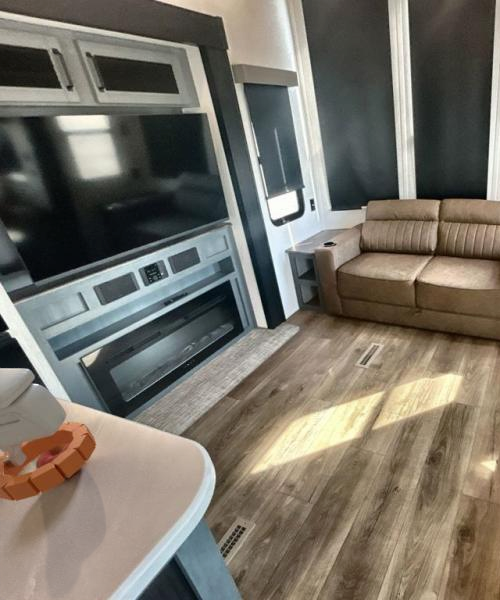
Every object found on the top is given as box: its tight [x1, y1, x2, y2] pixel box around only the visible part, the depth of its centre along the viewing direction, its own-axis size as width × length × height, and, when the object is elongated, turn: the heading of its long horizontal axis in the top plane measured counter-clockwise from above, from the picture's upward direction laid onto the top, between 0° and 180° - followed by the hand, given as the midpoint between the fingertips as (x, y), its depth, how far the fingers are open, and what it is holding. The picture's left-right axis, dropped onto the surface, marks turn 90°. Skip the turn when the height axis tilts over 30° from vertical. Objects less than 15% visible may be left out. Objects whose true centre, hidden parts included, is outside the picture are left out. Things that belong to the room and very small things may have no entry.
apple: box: [35, 443, 81, 474], centre depth 75 cm, size 7×7×8 cm
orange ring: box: [0, 421, 97, 502], centre depth 56 cm, size 12×12×3 cm
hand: (6, 466), depth 55 cm, fingers closed on orange ring, 2 cm apart
